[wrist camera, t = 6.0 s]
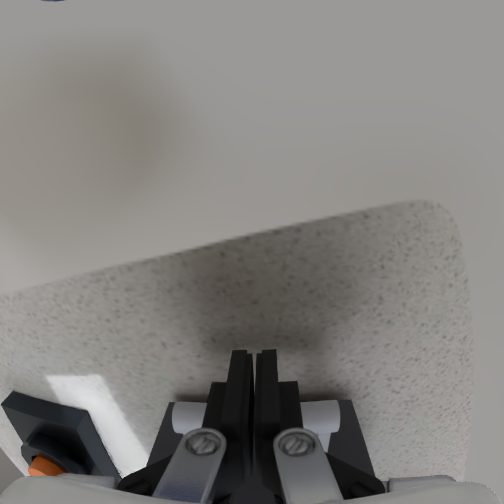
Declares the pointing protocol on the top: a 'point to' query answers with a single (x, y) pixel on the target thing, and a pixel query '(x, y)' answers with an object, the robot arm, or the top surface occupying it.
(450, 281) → the top surface
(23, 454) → the control block
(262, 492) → the basket drawer
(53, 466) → the button
